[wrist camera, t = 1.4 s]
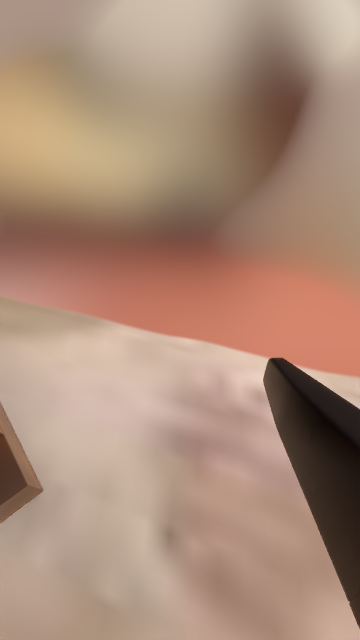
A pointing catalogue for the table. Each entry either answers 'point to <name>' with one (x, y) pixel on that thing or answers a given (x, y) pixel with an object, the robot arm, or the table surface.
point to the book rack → (14, 471)
